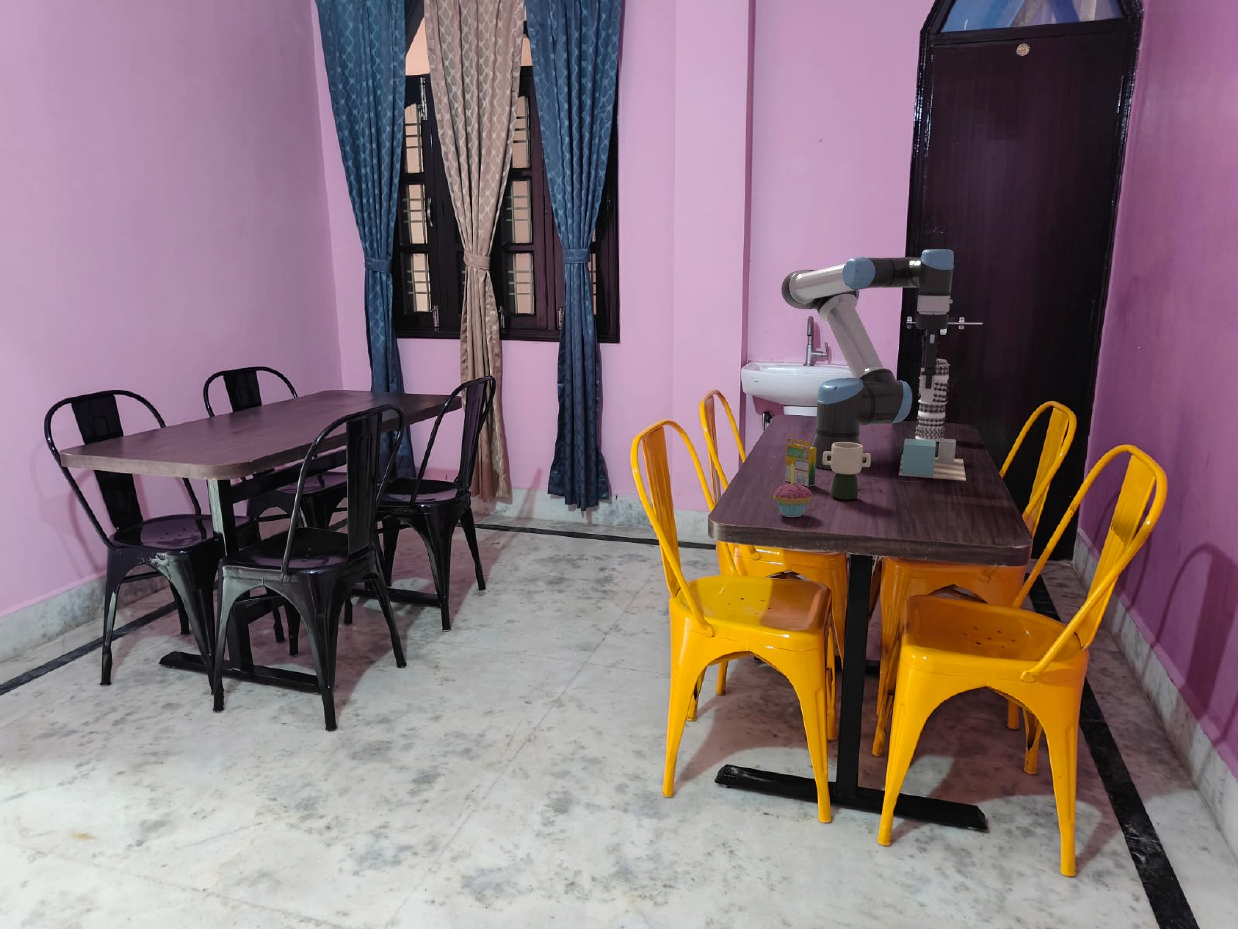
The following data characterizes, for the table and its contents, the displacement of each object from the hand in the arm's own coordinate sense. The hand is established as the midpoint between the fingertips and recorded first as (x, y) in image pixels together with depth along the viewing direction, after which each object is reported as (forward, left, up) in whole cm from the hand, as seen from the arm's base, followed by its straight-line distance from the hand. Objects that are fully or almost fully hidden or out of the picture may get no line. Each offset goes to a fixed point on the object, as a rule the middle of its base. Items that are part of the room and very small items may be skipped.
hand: (925, 397), depth 216 cm
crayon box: (-33, +2, -21) cm, 39 cm away
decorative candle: (+31, +40, -21) cm, 54 cm away
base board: (+6, +3, -21) cm, 22 cm away
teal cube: (-1, -1, -19) cm, 19 cm away
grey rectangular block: (+13, +6, -19) cm, 24 cm away
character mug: (-29, -13, -21) cm, 38 cm away
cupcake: (-47, -22, -21) cm, 56 cm away
